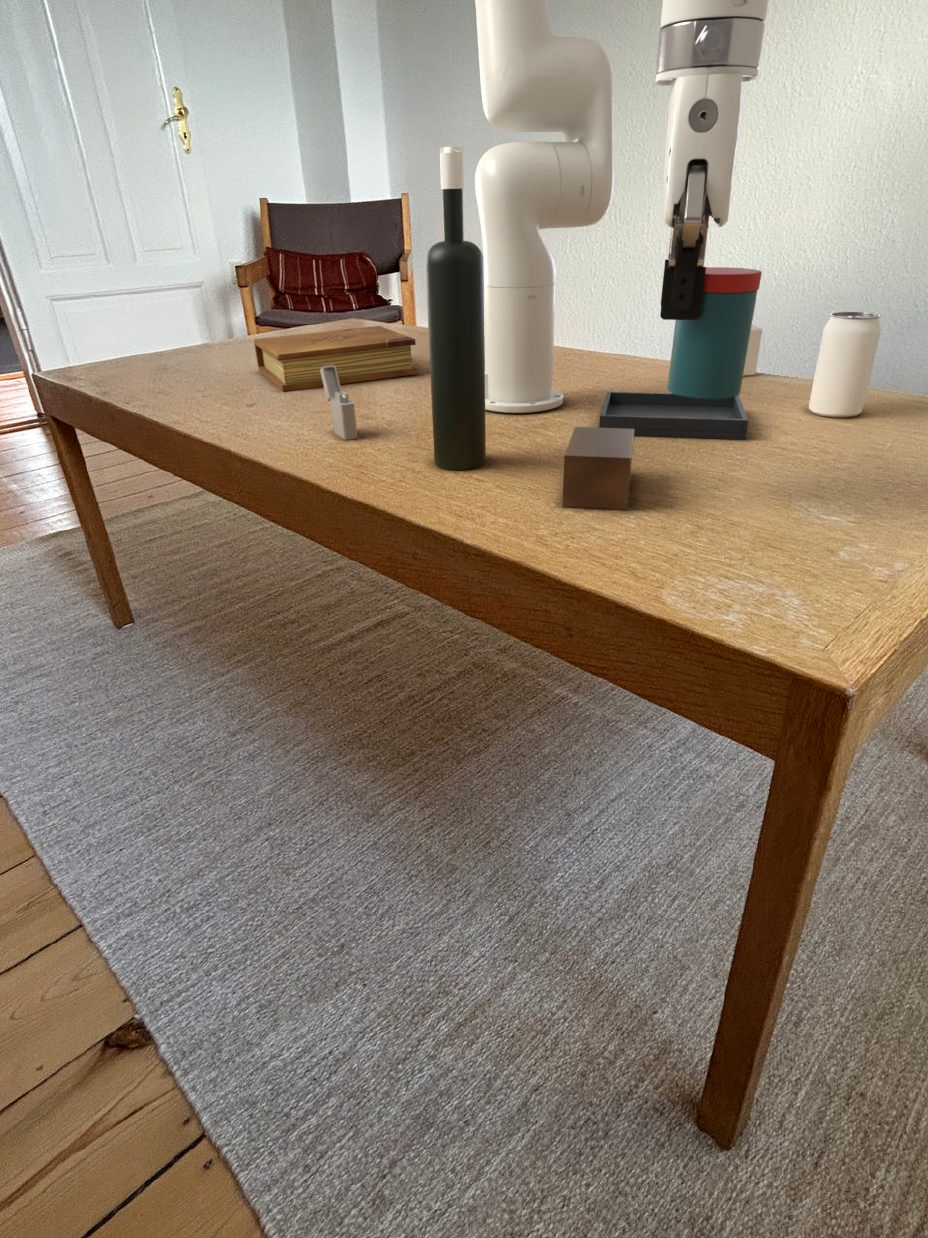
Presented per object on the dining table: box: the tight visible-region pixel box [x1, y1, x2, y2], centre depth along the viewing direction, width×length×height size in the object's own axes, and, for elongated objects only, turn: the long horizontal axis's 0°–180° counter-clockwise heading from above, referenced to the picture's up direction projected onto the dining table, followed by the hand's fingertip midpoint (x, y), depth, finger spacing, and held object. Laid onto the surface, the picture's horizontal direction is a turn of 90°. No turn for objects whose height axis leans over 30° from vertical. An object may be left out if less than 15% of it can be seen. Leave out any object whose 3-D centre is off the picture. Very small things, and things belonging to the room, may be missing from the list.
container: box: [667, 266, 763, 399], centre depth 66 cm, size 12×7×12 cm
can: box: [808, 311, 882, 419], centre depth 96 cm, size 6×6×12 cm
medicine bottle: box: [743, 301, 763, 377], centre depth 119 cm, size 7×7×12 cm
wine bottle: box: [424, 145, 487, 471], centre depth 77 cm, size 6×6×30 cm
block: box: [561, 426, 635, 511], centre depth 74 cm, size 6×10×5 cm, turn 167°
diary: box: [253, 325, 419, 392], centre depth 129 cm, size 23×19×6 cm
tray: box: [598, 391, 749, 441], centre depth 96 cm, size 17×13×2 cm
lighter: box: [320, 365, 359, 441], centre depth 94 cm, size 7×2×8 cm, turn 28°
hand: (679, 310), depth 66 cm, fingers closed on container, 5 cm apart
